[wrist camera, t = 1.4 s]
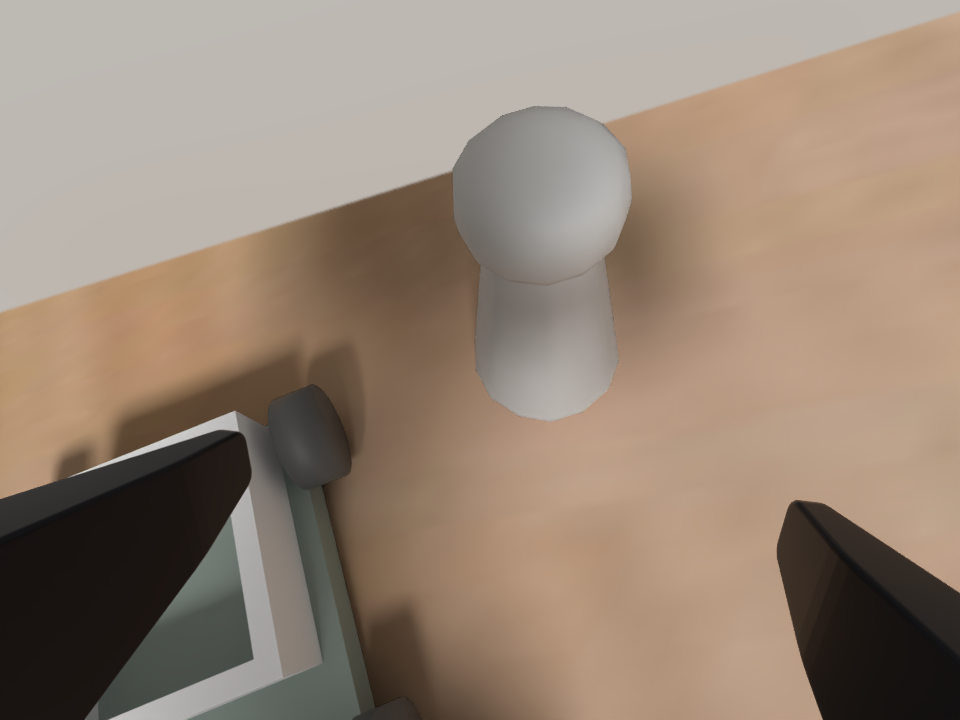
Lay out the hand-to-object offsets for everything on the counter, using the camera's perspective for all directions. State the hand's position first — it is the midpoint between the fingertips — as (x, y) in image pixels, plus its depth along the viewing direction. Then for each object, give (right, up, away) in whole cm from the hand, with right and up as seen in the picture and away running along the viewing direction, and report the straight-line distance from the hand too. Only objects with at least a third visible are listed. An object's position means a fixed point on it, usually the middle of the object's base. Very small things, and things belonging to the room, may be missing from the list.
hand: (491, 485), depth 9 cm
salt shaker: (+3, +1, +15) cm, 15 cm away
